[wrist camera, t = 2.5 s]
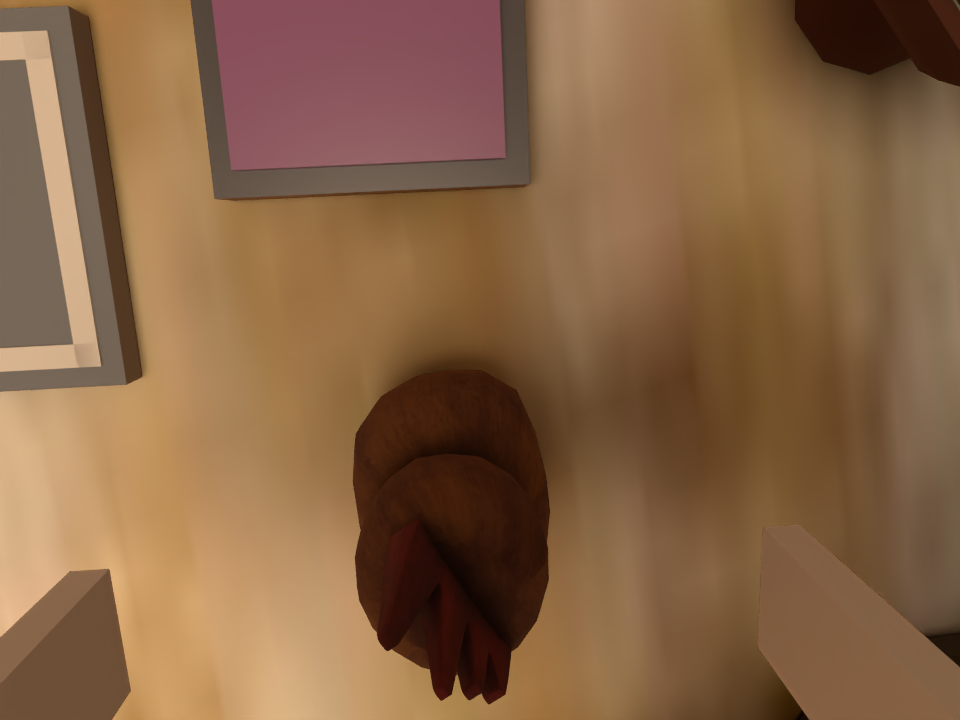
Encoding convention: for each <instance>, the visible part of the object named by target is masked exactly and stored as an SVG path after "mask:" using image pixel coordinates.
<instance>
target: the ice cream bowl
mask: <svg viewBox="0 0 960 720" xmlns="http://www.w3.org/2000/svg"><path fill="white" fill-rule="evenodd" d="M795 20H796V21H797V23H798V24H799V26H800V27H801V29H802V30H803V32H804V33H805V35H806V36H807V38H808V39H809V41H810V42H811V44H812V45H813V47H814V48H815V50H816V51H817V53H818V54H819V56H820V57H821V59H822V60H823V61H824V62H828V63H831V64H835V65H838V66H842V67H845V68H849V69H852V70H856V71H859V72H863V73H866V74H872V73H875V72H877V71H879V70H882V69H884V68H887V67H889V66H892V65H894V64H896V63H899V62H901V61H904V60H906V59H908V58H911V59H912V60H913V62H914V64H915V65H916V67H917V68H918V70H919V71H921V72H923V73H925V74H927V75H929V76H931V77H933V78H935V79H937V80H939V81H943V82H946V83H949V84H953V85H956V86H960V0H795Z"/></svg>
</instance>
